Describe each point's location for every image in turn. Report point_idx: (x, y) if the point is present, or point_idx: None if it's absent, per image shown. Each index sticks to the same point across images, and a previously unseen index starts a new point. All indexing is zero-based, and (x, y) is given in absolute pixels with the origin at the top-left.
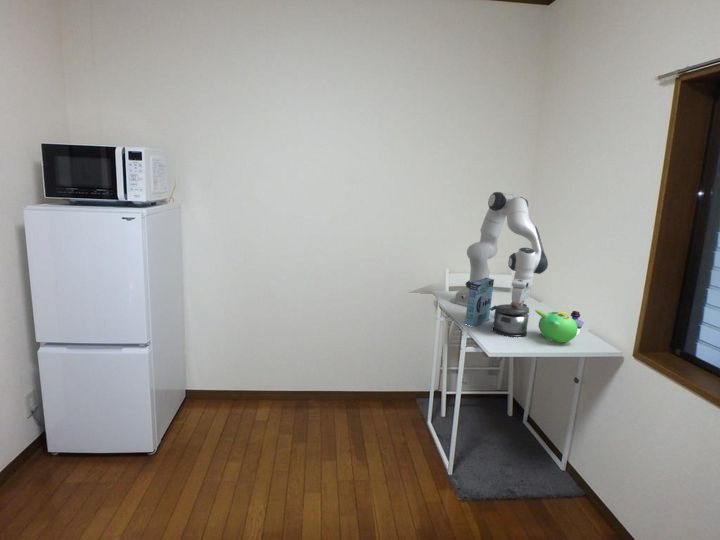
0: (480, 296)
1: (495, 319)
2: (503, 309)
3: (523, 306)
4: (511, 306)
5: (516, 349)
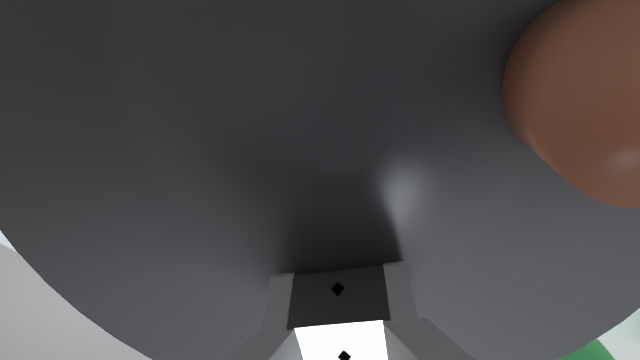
0: None
1: None
2: (18, 16)
3: (619, 268)
4: (494, 30)
5: (4, 240)
